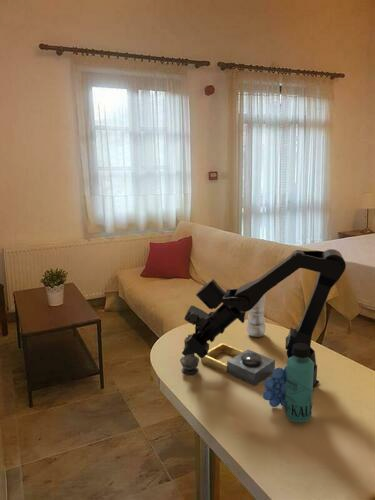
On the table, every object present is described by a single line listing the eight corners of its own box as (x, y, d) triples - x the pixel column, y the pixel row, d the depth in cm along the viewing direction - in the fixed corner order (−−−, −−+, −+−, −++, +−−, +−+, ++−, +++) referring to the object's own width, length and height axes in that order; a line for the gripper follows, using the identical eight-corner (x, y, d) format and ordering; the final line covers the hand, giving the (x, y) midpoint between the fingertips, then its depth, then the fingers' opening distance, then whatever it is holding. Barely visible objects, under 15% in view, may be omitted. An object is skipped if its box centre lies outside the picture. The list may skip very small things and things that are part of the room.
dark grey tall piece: (177, 374, 118) (176, 337, 115) (183, 364, 123) (182, 329, 120) (196, 377, 116) (195, 339, 113) (201, 367, 121) (201, 331, 118)
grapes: (299, 394, 106) (301, 354, 103) (310, 410, 99) (312, 367, 97) (257, 398, 105) (258, 357, 102) (265, 414, 98) (266, 371, 95)
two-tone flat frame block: (275, 371, 117) (275, 356, 116) (254, 386, 110) (254, 370, 109) (222, 349, 132) (222, 335, 130) (201, 361, 124) (200, 347, 123)
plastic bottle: (266, 339, 138) (268, 285, 133) (247, 339, 138) (248, 285, 134) (263, 331, 144) (264, 279, 140) (245, 331, 145) (245, 279, 140)
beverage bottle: (290, 408, 100) (293, 336, 96) (316, 418, 96) (320, 343, 92) (279, 421, 96) (281, 346, 91) (305, 433, 91) (309, 355, 87)
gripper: (207, 288, 122) (174, 319, 127) (193, 311, 104) (155, 345, 110) (233, 314, 122) (199, 343, 127) (222, 341, 104) (184, 374, 109)
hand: (184, 350), depth 118 cm, fingers open, 4 cm apart
